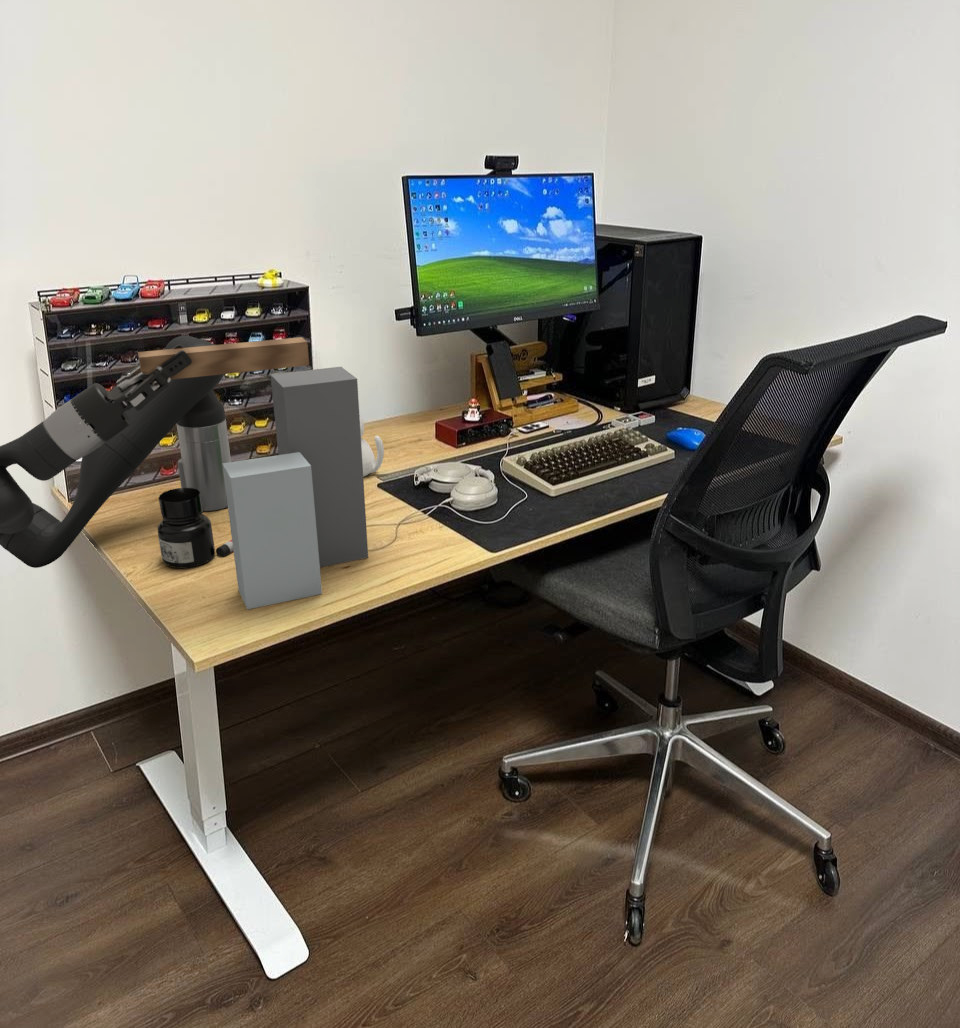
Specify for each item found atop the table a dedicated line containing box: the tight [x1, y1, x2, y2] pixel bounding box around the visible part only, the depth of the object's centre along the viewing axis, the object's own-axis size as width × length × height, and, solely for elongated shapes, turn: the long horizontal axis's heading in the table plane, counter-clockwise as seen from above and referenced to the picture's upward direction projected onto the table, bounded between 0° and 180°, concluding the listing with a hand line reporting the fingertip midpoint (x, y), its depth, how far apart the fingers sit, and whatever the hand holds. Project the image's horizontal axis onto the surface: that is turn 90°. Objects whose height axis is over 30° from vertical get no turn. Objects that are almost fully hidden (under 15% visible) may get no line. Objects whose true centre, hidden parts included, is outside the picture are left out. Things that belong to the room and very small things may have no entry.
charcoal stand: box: [270, 366, 369, 568], centre depth 151 cm, size 12×9×32 cm
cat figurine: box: [359, 414, 385, 478], centre depth 191 cm, size 9×12×15 cm
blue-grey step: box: [222, 452, 323, 610], centre depth 140 cm, size 12×7×22 cm, turn 115°
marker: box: [215, 539, 234, 558], centre depth 162 cm, size 15×2×2 cm, turn 154°
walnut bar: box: [137, 336, 310, 381], centre depth 132 cm, size 24×4×4 cm, turn 113°
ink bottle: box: [157, 487, 216, 569], centre depth 153 cm, size 10×9×12 cm
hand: (185, 353), depth 129 cm, fingers closed on walnut bar, 3 cm apart
